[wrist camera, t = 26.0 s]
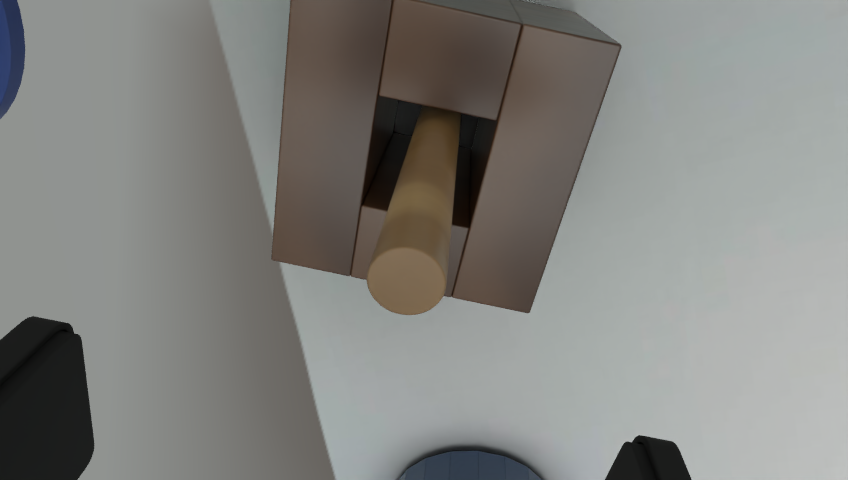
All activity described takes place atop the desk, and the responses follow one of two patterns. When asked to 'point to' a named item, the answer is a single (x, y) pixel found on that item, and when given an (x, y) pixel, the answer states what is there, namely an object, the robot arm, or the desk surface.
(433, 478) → the mixing bowl
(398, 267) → the stick
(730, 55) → the desk surface
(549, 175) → the stick stand
